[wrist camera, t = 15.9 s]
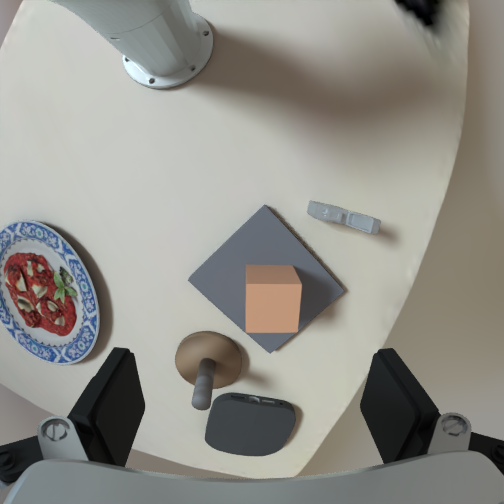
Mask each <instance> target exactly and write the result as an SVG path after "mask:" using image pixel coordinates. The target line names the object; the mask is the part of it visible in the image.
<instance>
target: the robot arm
mask: <svg viewBox="0 0 504 504" xmlns="http://www.w3.org/2000/svg"><path fill="white" fill-rule="evenodd" d="M48 1H51V2H54V3H57V4H59V5H61V6H63V7H65V8H67V9H68V10H70V11H72V12H73V13H75V14H76V15H77V16H79V17H80V18H81V19H82V20H84V21H85V22H86V23H87V24H89V25H90V26H91V27H92V28H93V29H94V30H95V31H97V32H98V33H99V34H100V35H101V36H102V37H104V38H105V39H106V40H107V41H108V42H109V43H110V44H112V45H113V46H114V47H115V48H116V49H117V50H118V51H120V52H121V53H122V61H123V65H124V68H125V70H126V72H127V73H128V75H129V76H130V77H131V78H132V79H133V80H135V81H136V82H137V83H139V84H141V85H143V86H146V87H149V88H157V89H161V88H170V87H174V86H177V85H180V84H182V83H185V82H186V81H188V80H190V79H191V78H193V77H194V76H195V75H196V74H198V73H199V72H200V71H201V70H202V69H203V67H204V66H205V65H206V63H207V62H208V60H209V59H210V56H211V53H212V50H213V44H214V43H213V35H212V31H211V29H210V27H209V25H208V23H207V22H206V21H205V20H204V19H203V18H202V17H201V16H199V15H198V14H196V13H194V12H192V9H191V6H190V3H189V0H48ZM205 35H208V36H205ZM129 60H130V61H129ZM192 69H195V70H194V71H192ZM153 81H155V83H153V84H152V82H153ZM360 408H361V412H362V414H363V416H364V419H365V421H366V423H367V425H368V428H369V430H370V432H371V435H372V437H373V439H374V442H375V444H376V446H377V448H378V451H379V453H380V455H381V458H382V460H383V463H384V464H382V465H377V466H372V467H367V468H362V469H356V470H350V471H344V472H337V473H330V474H322V475H314V476H302V477H290V478H270V479H224V478H203V477H191V476H181V475H172V474H163V473H157V472H150V471H143V470H136V469H131V468H126V467H125V464H126V462H127V459H128V456H129V453H130V450H131V447H132V444H133V442H134V439H135V436H136V433H137V430H138V428H139V425H140V422H141V419H142V417H143V414H144V411H145V401H144V397H143V393H142V389H141V384H140V380H139V375H138V371H137V366H136V361H135V356H134V353H130V350H129V349H127V348H118V347H114V348H113V350H112V351H111V353H110V354H109V356H108V357H107V359H106V360H105V362H104V363H103V365H102V366H101V368H100V369H99V371H98V372H97V374H96V376H94V377H93V378H92V379H91V380H90V382H89V383H88V385H87V386H86V388H85V390H84V391H83V393H82V394H81V396H80V397H79V399H78V401H77V402H76V404H75V405H74V407H73V409H72V410H71V412H70V413H69V415H68V417H67V418H66V417H63V416H50V417H48V418H46V419H44V420H43V421H41V423H40V424H39V425H38V428H37V436H33V437H30V438H27V439H24V440H20V441H17V442H13V443H9V444H6V445H2V446H0V504H504V441H502V440H499V439H495V438H491V437H488V436H484V435H481V434H477V433H474V432H471V424H470V421H469V420H468V419H467V418H466V417H464V416H463V415H461V414H458V413H446V414H443V415H442V416H441V414H440V413H439V412H438V411H439V410H438V408H437V407H436V405H435V404H434V403H433V401H432V400H431V398H430V397H429V396H428V394H427V393H426V392H425V390H424V389H423V388H422V386H421V385H420V383H419V382H418V381H417V379H416V378H415V377H414V375H413V374H412V373H411V371H410V370H409V369H408V367H407V366H406V365H405V363H404V362H403V361H402V359H401V358H400V357H399V356H398V354H397V353H396V351H395V350H394V349H393V348H388V349H379V350H378V352H377V353H375V354H374V355H373V359H372V363H371V367H370V371H369V374H368V378H367V382H366V386H365V389H364V392H363V396H362V399H361V403H360Z"/></svg>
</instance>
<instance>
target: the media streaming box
mask: <svg viewBox="0 0 504 504" xmlns="http://www.w3.org/2000/svg"><path fill="white" fill-rule="evenodd" d="M265 399H266V400H265ZM295 420H296V419H295V413H294V409H293V407H292V405H291V404H290V403H288V402H286V401H283V400H278V399H272V398H266V397H260V396H254V395H247V394H240V393H226V394H222V395H220V396H218V397H217V398H216V399H215V400H214V402H213V404H212V407H211V410H210V414H209V417H208V422H207V426H206V433H205V441H206V442H207V444H208V445H210V446H211V447H213V448H214V449H216V450H219V451H223V452H226V453H231V454H236V455H244V456H266V455H270V454H273V453H275V452H277V451H279V450H280V449H281V448H282V447H283V446H284V444H285V443H286V441H287V439H288V437H289V436H290V434H291V431H292V429H293V426H294V424H295Z"/></svg>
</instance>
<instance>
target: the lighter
mask: <svg viewBox="0 0 504 504" xmlns="http://www.w3.org/2000/svg"><path fill="white" fill-rule="evenodd" d="M307 213H308V214H309V215H311V216H312V217H314V218H316V219H321V220H325V221H330V222H335V223H340V224H344V225H345V224H346V225H348V226H350V227H353V228H356V229H359V230H361V231H364V232H367V233H370V234H378V231H379V227H380V223H381V221H380V220H379V219H376V218H373V217H369V216H366V215H363V214H360V213H356V212H351V211H350V212H348V211H347V210H345V209H342V208H340V207H337V206H333V205H329V204H324V203H319V202H315V201H309V205H308V210H307Z"/></svg>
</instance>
